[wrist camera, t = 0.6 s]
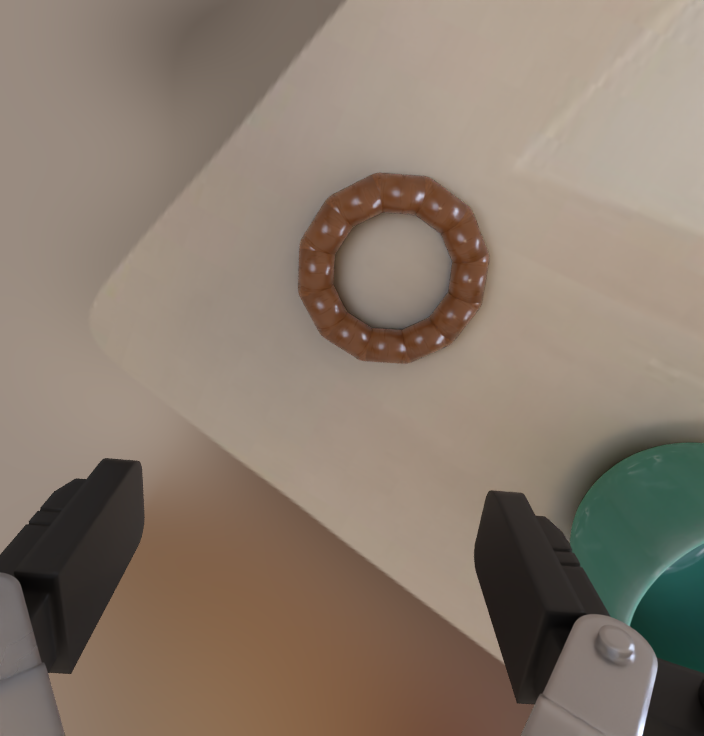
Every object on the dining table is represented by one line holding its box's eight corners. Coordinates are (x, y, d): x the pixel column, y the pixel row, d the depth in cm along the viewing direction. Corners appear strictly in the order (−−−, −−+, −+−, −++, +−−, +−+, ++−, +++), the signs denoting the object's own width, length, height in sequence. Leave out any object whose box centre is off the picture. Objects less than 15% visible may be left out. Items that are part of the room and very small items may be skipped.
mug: (521, 468, 33) (586, 583, 24) (727, 383, 31) (880, 473, 22) (600, 646, 38) (677, 793, 29) (779, 583, 36) (919, 720, 27)
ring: (266, 294, 29) (261, 303, 27) (368, 132, 26) (369, 131, 24) (410, 386, 31) (414, 399, 29) (519, 245, 28) (530, 251, 26)
